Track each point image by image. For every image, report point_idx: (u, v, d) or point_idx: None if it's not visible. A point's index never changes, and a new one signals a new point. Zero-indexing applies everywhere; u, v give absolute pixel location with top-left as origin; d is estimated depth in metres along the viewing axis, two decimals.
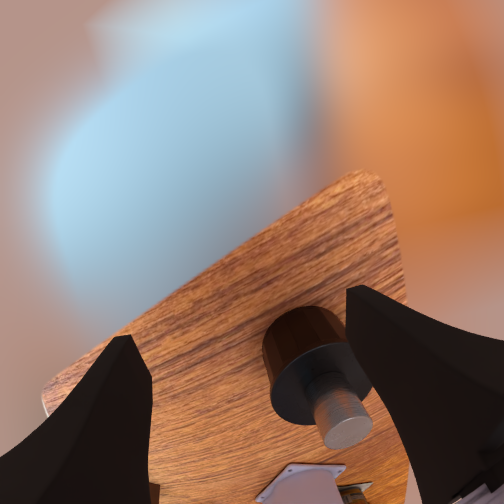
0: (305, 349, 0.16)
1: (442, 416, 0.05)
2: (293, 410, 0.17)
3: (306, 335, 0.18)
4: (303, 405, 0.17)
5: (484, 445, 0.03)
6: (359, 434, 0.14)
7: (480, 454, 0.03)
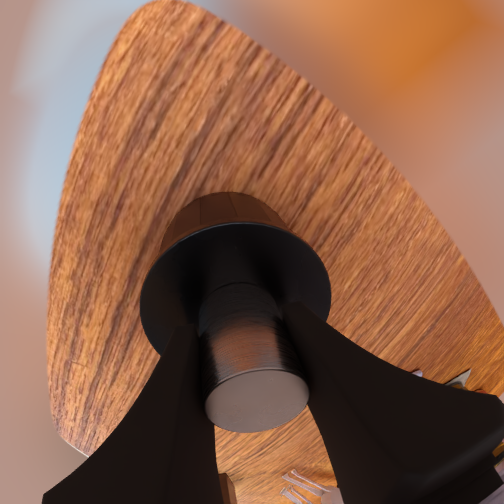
0: (146, 275, 0.10)
1: (352, 457, 0.05)
2: None
3: None
4: None
5: (386, 501, 0.03)
6: (287, 397, 0.07)
7: None
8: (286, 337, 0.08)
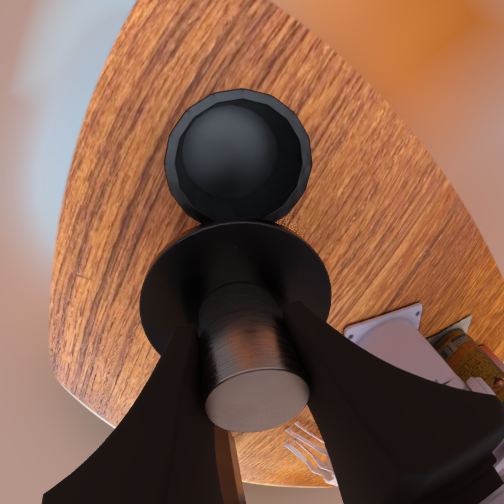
0: (146, 274, 0.10)
1: (352, 457, 0.05)
2: None
3: None
4: None
5: (386, 501, 0.03)
6: (287, 397, 0.07)
7: None
8: (286, 337, 0.08)
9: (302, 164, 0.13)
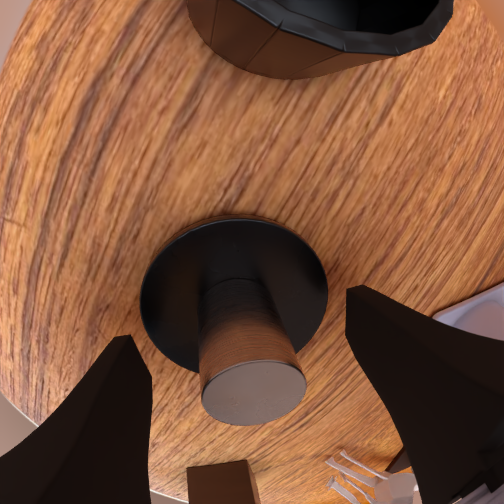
0: (146, 270, 0.10)
1: (442, 416, 0.05)
2: None
3: None
4: None
5: (484, 445, 0.03)
6: (284, 390, 0.07)
7: (480, 454, 0.03)
8: (283, 331, 0.09)
9: None
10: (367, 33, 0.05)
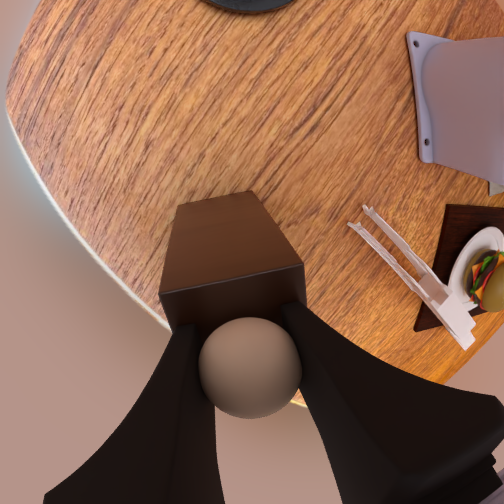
0: None
1: (351, 457, 0.05)
2: None
3: None
4: None
5: (384, 502, 0.03)
6: None
7: None
8: None
9: None
10: None
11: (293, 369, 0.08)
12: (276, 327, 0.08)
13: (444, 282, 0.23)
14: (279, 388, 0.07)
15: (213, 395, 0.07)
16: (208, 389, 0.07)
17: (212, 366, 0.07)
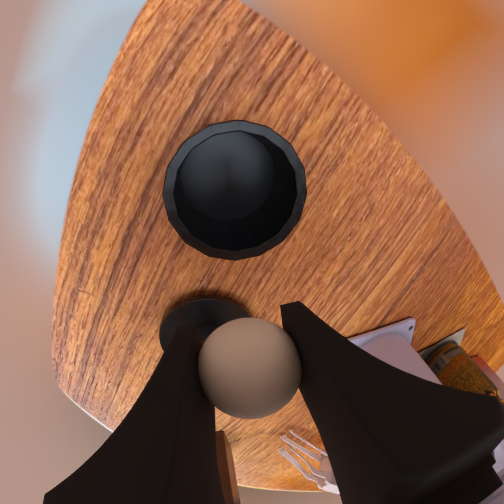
0: (162, 320, 0.20)
1: (351, 457, 0.05)
2: None
3: None
4: None
5: (384, 502, 0.03)
6: None
7: None
8: None
9: (297, 194, 0.14)
10: (247, 247, 0.15)
11: (292, 369, 0.08)
12: (276, 327, 0.08)
13: None
14: (278, 388, 0.07)
15: (213, 395, 0.07)
16: (207, 390, 0.07)
17: (211, 366, 0.07)
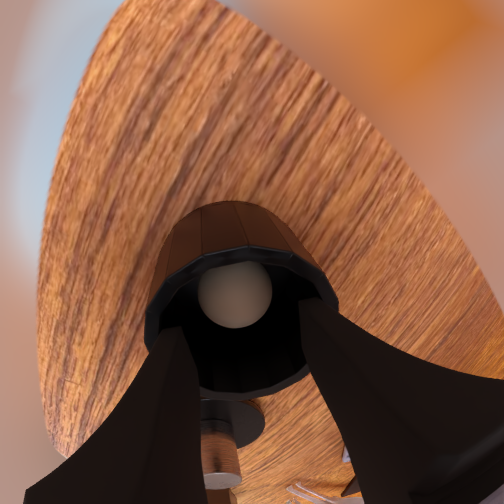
0: None
1: (377, 447, 0.05)
2: None
3: (160, 270, 0.10)
4: None
5: (414, 488, 0.03)
6: (230, 480, 0.14)
7: (411, 496, 0.03)
8: (232, 453, 0.15)
9: None
10: (258, 386, 0.11)
11: (263, 285, 0.11)
12: None
13: None
14: (253, 296, 0.11)
15: (208, 303, 0.11)
16: (204, 300, 0.11)
17: (207, 281, 0.11)
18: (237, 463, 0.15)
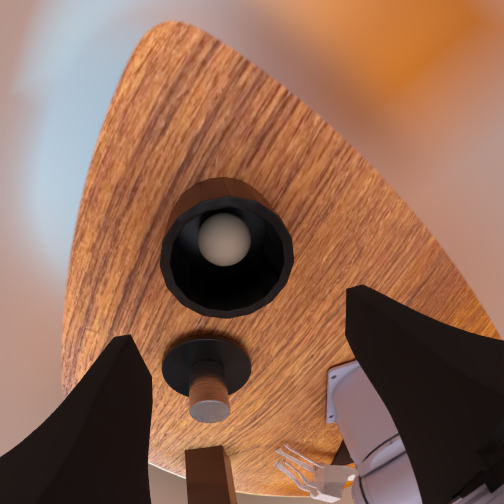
0: (164, 356, 0.21)
1: (442, 416, 0.05)
2: None
3: (173, 218, 0.15)
4: None
5: (484, 445, 0.03)
6: (220, 410, 0.19)
7: (480, 454, 0.03)
8: (222, 386, 0.20)
9: (284, 261, 0.15)
10: (238, 307, 0.16)
11: (244, 232, 0.16)
12: (236, 215, 0.17)
13: (348, 451, 0.34)
14: (237, 238, 0.16)
15: (205, 245, 0.16)
16: (203, 243, 0.16)
17: (205, 230, 0.16)
18: (226, 396, 0.20)
